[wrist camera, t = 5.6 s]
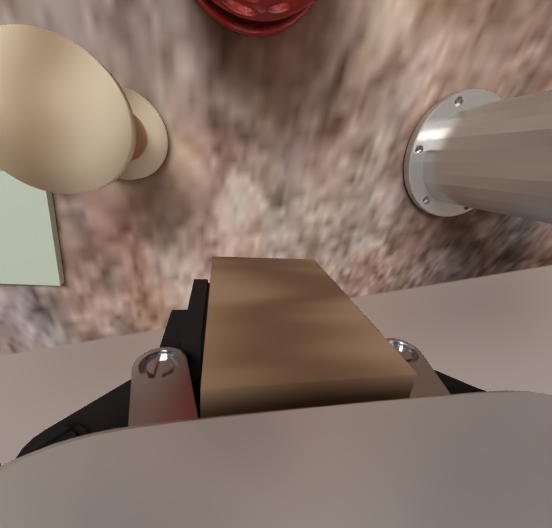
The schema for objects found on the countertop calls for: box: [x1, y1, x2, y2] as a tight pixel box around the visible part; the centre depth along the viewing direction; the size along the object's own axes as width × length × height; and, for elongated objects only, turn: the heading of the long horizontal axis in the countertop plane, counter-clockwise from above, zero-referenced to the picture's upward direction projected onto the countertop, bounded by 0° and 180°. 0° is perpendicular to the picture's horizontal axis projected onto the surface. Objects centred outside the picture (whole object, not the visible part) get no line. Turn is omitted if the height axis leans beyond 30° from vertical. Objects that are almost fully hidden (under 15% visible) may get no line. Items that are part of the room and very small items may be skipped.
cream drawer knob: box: [0, 24, 169, 194], centre depth 18 cm, size 7×7×11 cm
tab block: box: [200, 257, 418, 418], centre depth 9 cm, size 4×4×8 cm
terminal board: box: [0, 170, 65, 286], centre depth 23 cm, size 8×10×1 cm
